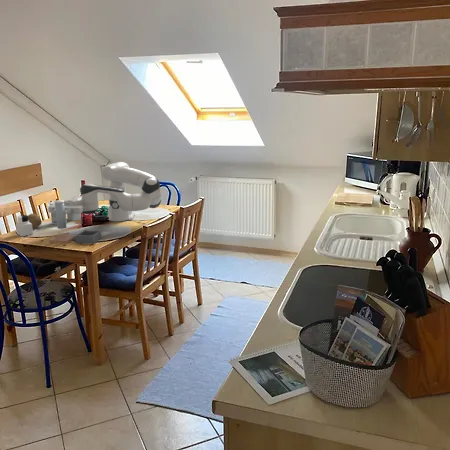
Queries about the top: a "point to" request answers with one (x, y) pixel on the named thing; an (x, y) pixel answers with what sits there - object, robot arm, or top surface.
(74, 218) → the supplement box
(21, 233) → the medicine bottle
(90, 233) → the parts tub
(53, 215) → the supplement tub
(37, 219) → the natural sponge
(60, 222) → the canister
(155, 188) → the robot arm
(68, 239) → the terracotta tile
